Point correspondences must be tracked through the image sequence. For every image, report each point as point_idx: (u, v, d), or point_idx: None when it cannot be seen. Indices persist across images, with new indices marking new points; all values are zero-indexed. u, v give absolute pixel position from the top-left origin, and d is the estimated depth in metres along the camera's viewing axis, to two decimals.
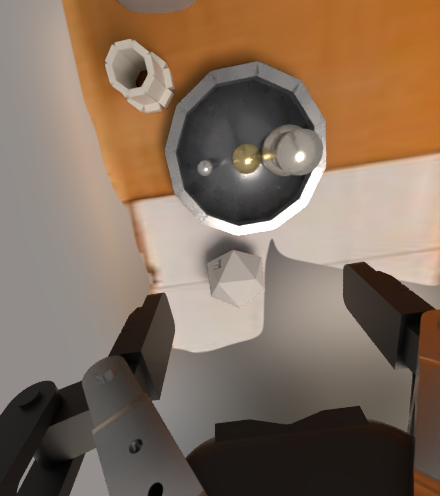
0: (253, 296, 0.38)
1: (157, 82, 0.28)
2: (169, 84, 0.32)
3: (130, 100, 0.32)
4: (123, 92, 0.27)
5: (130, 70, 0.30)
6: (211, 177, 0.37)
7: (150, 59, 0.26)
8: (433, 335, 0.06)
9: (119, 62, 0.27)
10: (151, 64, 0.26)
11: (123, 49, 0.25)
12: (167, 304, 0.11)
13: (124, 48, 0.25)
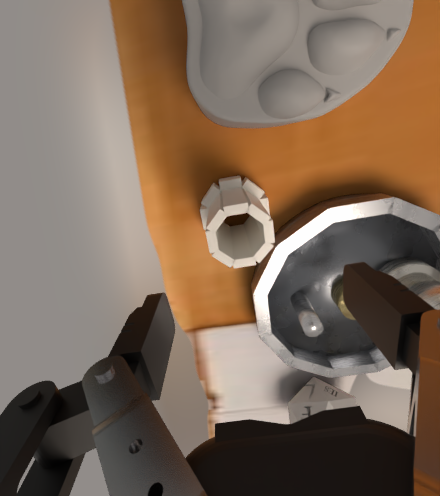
0: None
1: None
2: None
3: None
4: (226, 263, 0.19)
5: None
6: None
7: (271, 226, 0.18)
8: (433, 335, 0.06)
9: None
10: (272, 232, 0.18)
11: (234, 214, 0.18)
12: (167, 304, 0.11)
13: (236, 214, 0.18)
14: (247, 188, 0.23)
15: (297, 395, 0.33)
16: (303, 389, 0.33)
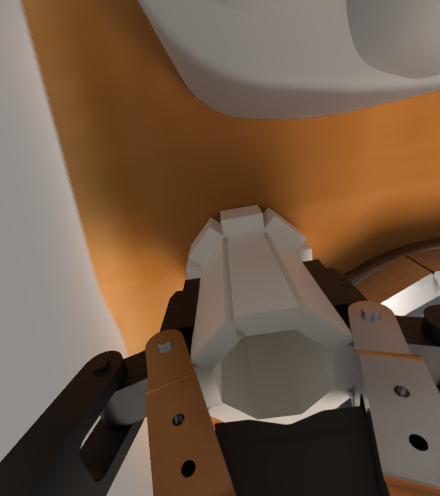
0: None
1: None
2: None
3: None
4: None
5: None
6: None
7: None
8: (361, 326, 0.07)
9: None
10: (353, 368, 0.07)
11: (262, 331, 0.07)
12: None
13: (267, 332, 0.07)
14: (274, 232, 0.12)
15: None
16: None
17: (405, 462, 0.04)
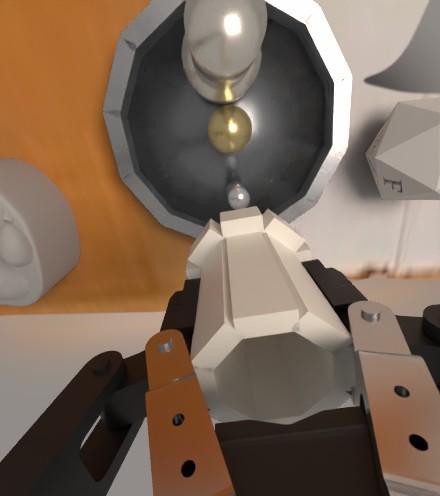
0: None
1: None
2: None
3: None
4: None
5: None
6: (251, 183, 0.26)
7: (353, 359, 0.07)
8: (361, 326, 0.07)
9: None
10: (352, 369, 0.07)
11: (262, 333, 0.07)
12: None
13: (266, 334, 0.07)
14: (273, 233, 0.12)
15: (376, 184, 0.25)
16: (372, 173, 0.26)
17: (405, 462, 0.04)
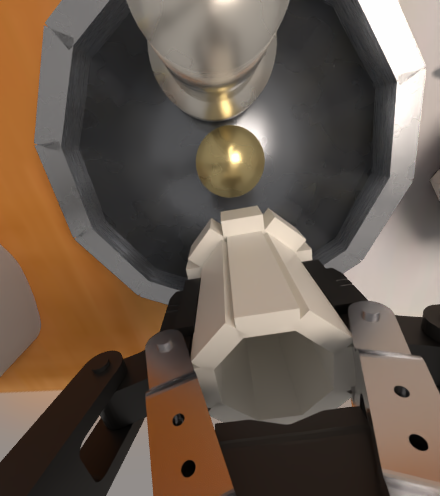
0: None
1: None
2: None
3: None
4: None
5: None
6: None
7: None
8: (361, 326, 0.07)
9: None
10: (353, 369, 0.07)
11: (263, 332, 0.07)
12: None
13: (267, 334, 0.07)
14: (274, 233, 0.12)
15: None
16: None
17: (405, 462, 0.04)
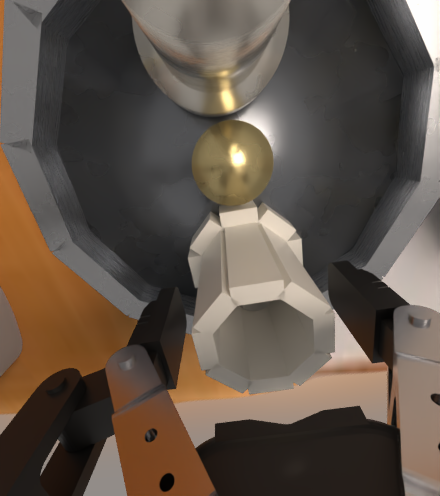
0: None
1: None
2: None
3: None
4: (235, 385, 0.10)
5: None
6: None
7: (331, 323, 0.09)
8: (406, 330, 0.07)
9: None
10: (330, 333, 0.09)
11: (253, 301, 0.08)
12: (179, 298, 0.12)
13: (257, 302, 0.08)
14: (267, 224, 0.14)
15: None
16: None
17: (429, 465, 0.04)
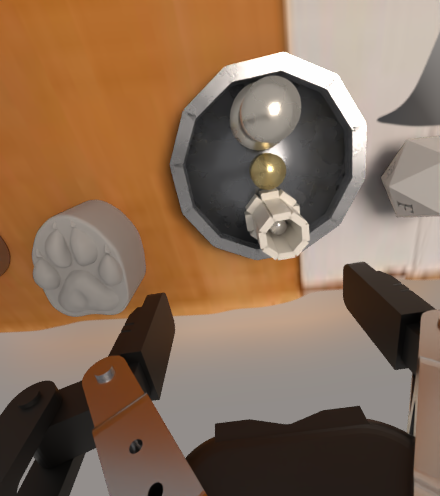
0: None
1: None
2: None
3: (254, 234, 0.31)
4: (273, 256, 0.26)
5: None
6: None
7: (307, 228, 0.24)
8: (433, 335, 0.06)
9: None
10: (307, 232, 0.25)
11: (280, 220, 0.24)
12: (167, 304, 0.11)
13: None
14: (283, 198, 0.29)
15: None
16: (388, 195, 0.30)
17: None
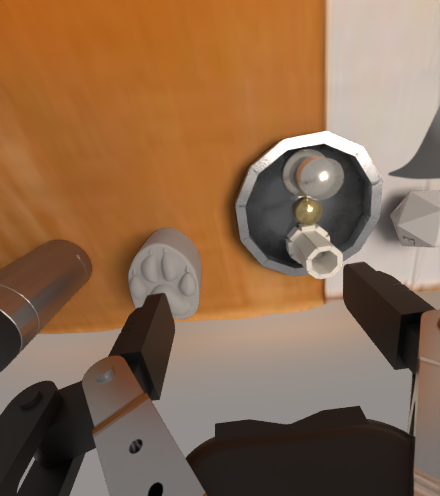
0: None
1: None
2: None
3: (294, 257, 0.41)
4: (315, 276, 0.35)
5: None
6: None
7: (341, 257, 0.34)
8: (433, 335, 0.06)
9: None
10: (341, 260, 0.34)
11: (322, 251, 0.34)
12: (167, 304, 0.11)
13: (324, 251, 0.33)
14: (318, 231, 0.39)
15: (398, 235, 0.40)
16: (395, 228, 0.40)
17: None
